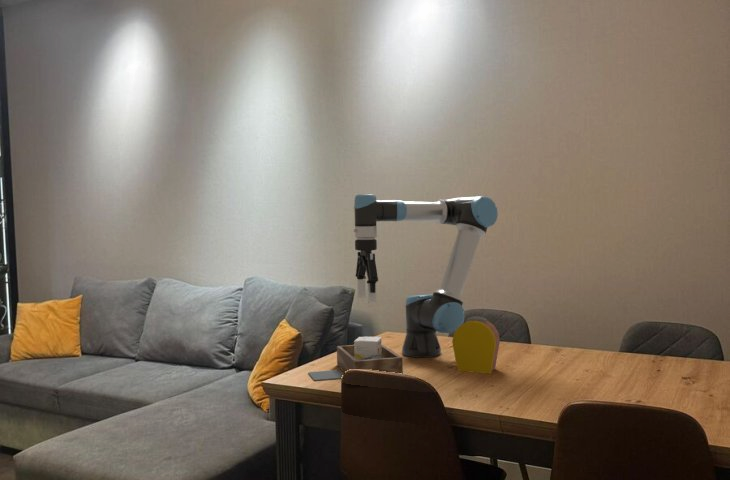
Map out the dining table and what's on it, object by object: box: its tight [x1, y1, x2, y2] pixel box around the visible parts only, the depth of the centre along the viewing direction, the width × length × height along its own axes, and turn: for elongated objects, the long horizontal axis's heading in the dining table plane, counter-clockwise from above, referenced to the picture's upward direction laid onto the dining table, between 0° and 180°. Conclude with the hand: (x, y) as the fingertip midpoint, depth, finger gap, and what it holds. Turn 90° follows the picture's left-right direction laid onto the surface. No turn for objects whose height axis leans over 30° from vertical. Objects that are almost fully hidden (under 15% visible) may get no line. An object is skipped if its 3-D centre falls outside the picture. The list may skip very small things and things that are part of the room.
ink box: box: [353, 336, 382, 361], centre depth 225 cm, size 9×8×12 cm
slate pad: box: [307, 369, 344, 382], centre depth 220 cm, size 11×11×1 cm
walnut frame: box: [336, 343, 404, 375], centre depth 225 cm, size 16×26×7 cm, turn 15°
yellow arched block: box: [451, 315, 501, 374], centre depth 225 cm, size 15×8×18 cm, turn 65°
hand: (366, 299), depth 224 cm, fingers open, 13 cm apart
